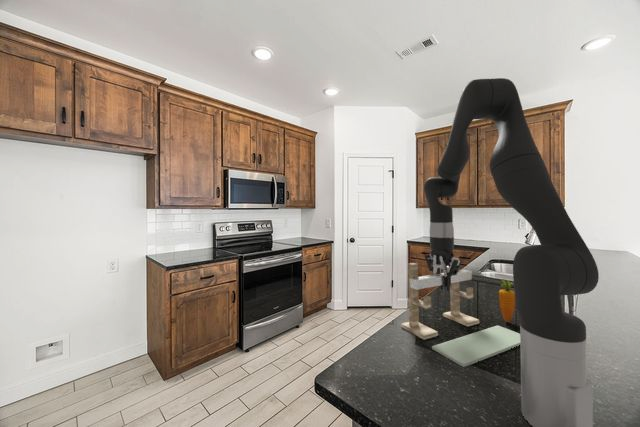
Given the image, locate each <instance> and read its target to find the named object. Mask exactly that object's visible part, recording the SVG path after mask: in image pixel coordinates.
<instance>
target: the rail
mask: <svg viewBox="0 0 640 427" xmlns="http://www.w3.org/2000/svg"><path fill="white" fill-rule="evenodd" d="M447 273H448V271H447ZM472 279H473V271H472V270H468V269H459V270H458V272H457V274H456V275H453V276H451V283H455V282H459V283H460V282H466V281H471V280H472ZM439 286H444V273H443V272H441V273H439V274H434V273H433V274H428V275H422V276H418V277H415V278H410V288H413V289H416V290H418V291H419V290H422V289H429V288H432V287H433V288H434V287H439Z"/></svg>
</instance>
